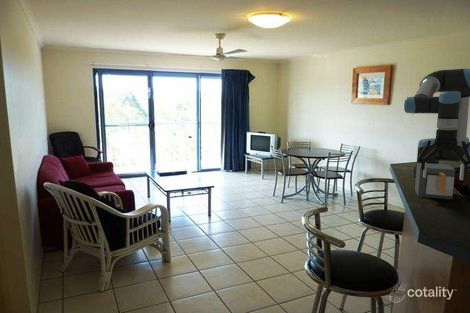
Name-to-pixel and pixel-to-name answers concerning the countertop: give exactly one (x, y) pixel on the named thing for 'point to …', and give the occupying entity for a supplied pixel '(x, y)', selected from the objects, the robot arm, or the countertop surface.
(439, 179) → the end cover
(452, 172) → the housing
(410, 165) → the countertop surface
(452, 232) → the countertop surface
